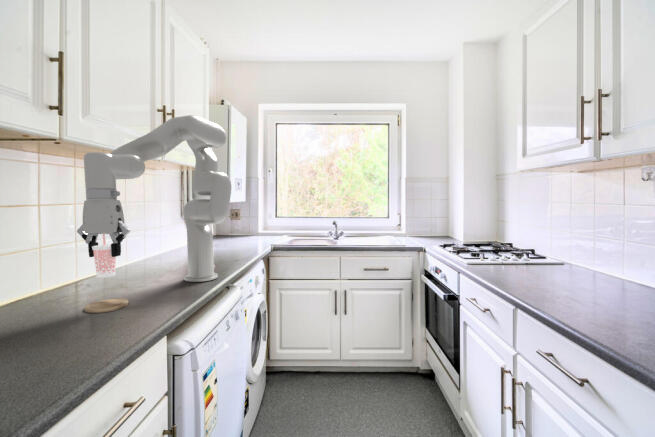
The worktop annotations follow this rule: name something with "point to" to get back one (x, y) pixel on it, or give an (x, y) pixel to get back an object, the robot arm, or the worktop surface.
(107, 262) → the beverage cup
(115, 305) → the plate
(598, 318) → the worktop surface
